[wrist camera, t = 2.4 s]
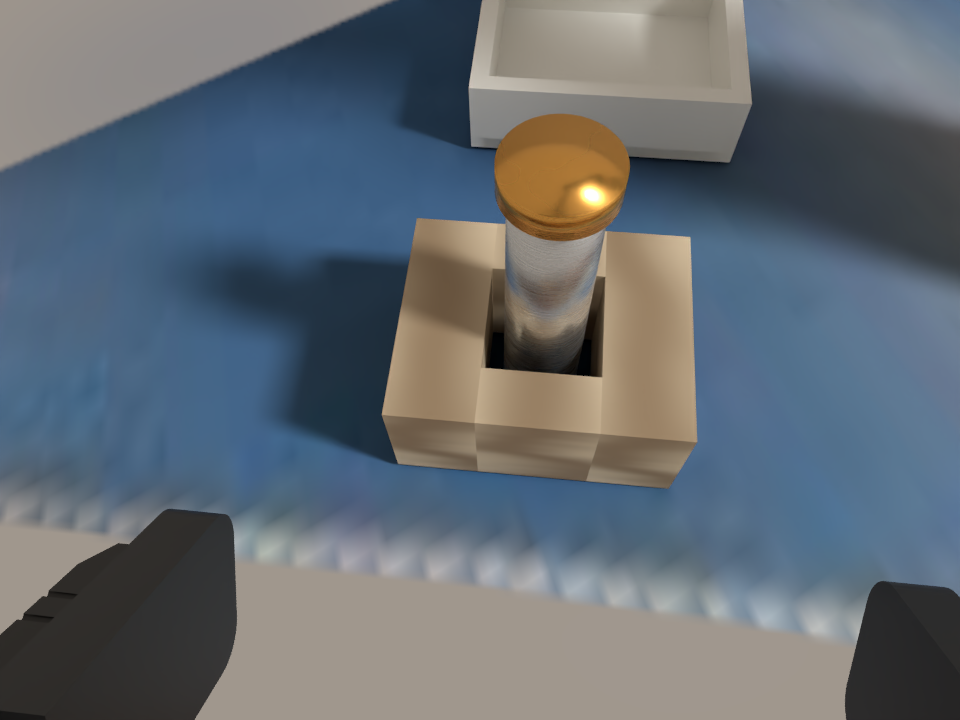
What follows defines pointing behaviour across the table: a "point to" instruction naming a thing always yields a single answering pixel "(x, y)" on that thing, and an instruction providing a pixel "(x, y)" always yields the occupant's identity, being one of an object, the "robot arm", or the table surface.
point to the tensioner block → (544, 396)
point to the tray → (616, 72)
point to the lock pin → (554, 233)
